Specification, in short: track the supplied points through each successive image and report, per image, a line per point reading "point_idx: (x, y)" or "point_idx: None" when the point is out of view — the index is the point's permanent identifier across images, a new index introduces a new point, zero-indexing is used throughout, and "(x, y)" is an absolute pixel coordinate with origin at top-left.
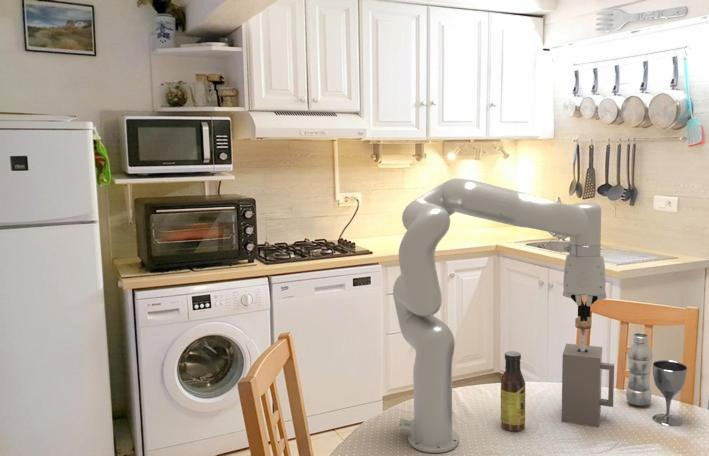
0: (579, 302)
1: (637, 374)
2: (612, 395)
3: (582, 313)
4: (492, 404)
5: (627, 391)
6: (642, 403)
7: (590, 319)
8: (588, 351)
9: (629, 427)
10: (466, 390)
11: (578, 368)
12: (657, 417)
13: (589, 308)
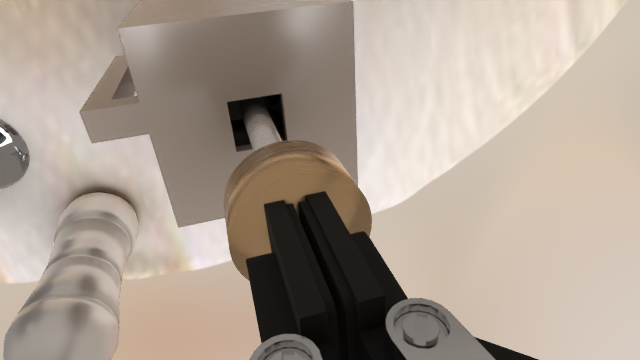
0: (421, 343)
1: (75, 257)
2: (111, 67)
3: (326, 239)
4: (480, 6)
5: (127, 220)
6: (76, 198)
7: (244, 267)
8: (225, 124)
9: (61, 35)
10: (548, 68)
11: (247, 2)
12: (7, 146)
13: (265, 328)
